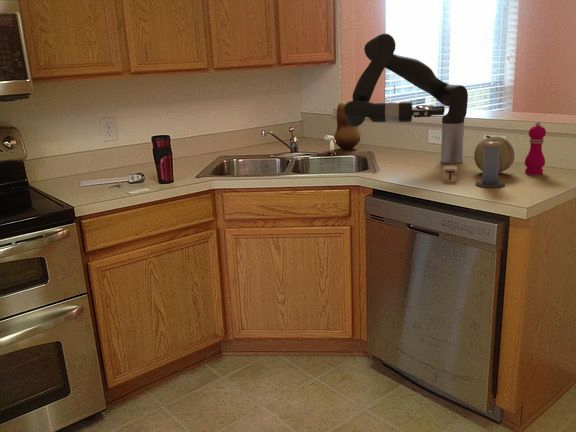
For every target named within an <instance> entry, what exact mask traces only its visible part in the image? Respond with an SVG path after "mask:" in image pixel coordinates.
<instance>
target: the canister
mask: <svg viewBox="0 0 576 432" xmlns="http://www.w3.org/2000/svg"><path fill="white" fill-rule="evenodd" d="M500 146H501V142H496V141H488V142H484V153H483V170H482V171H481V173H482V174H481V181H482V184H485V185H497V184H498V181H499V176H500V175H499V174H500V173H499V160H500Z"/></svg>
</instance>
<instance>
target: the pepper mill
mask: <svg viewBox="0 0 576 432" xmlns="http://www.w3.org/2000/svg"><path fill="white" fill-rule="evenodd" d="M546 135H547V130H546V128H545V127H544V126H542V125H541V121H536V122H535V125H533V126H532V127H530V129H529V130H528V136H529V137H530V138H529V143H530V149H529V151H528V153H527V155H526V156H525V159H524V165H525V166H526V168H525V170H524V171H525V172H524V174H525V175H528V176H541V175H543V174H544V169H543V167H544V166H545V165H546V159H545V156H544V153H543V151H542V147H543V144H544V139H545V137H546Z"/></svg>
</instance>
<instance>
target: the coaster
mask: <svg viewBox="0 0 576 432" xmlns="http://www.w3.org/2000/svg"><path fill="white" fill-rule="evenodd" d="M505 185H506V183H505V182H504V181H500V180H498V184H497V185H485V184H482V180H478V181H475V186H476V187H479V188H483V189H501V188H504V187H505Z"/></svg>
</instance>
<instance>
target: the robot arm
mask: <svg viewBox="0 0 576 432" xmlns="http://www.w3.org/2000/svg"><path fill="white" fill-rule="evenodd" d="M396 47H397V46H396V41H395V39H394V37H393V36H392V35H391V34H389V33H386V32H385V33H382V34H379V35H377V36H375V37H374V38H372V39H370V40H369V41H367V42H366V43H365V45H364V48H363V50H364V54H365V56H366V58H368V59H369V60H370V62H369V64H368V65H367V67H365V70H364V71H363V72H362V74H361V75H360V77H359V78H358V80H357V82H356V85H355V86H354V89H353V92H352V100H349V101H350V102H348V103H347V104H346V105H345V107H344V113H345V116H346V119H347V122H348V124H349V125H351V126H353V127H357V126H358V127H360V126H361V125H362V124H363V123H364V122H365V120H366V118H368V119H369V120H370V121H371V122H373V123H411V122H412V120H413V118H430V117H433V116H442V119H441V139H440V140H441V146H440V162H441V163H445V164H458V163H459V164H461V163H462V162H463V156H464V155H463V153H464V137H465V136H464V132H465V131H464V130H465V129H464V128H465V118H466V117H467V111H468V101H469V94H468V90H467V87H465V86H464V85H462V84H461V85H460V84H449V83H446V82H444V81H443V80H441V79H439V78H438V77H437V76H436V75H435V72H434V71H433V69H431V67H430V66H428V65H427V64H426V63H424V62H422V61H421V60H419V59H416V58H414V57H408V56H402V55H398V54H396V53H394V52H395V51H396ZM385 69H386V70H389V71H390V72H392V73H394V74H396V75H398V76H399V77H401V78H402V79H404V80H405V81H406V82H408V83H410V84H411V85H413V86H415V87H417V88H418V89H420V90H422V91H424V92H426V93H427V94H430V96H432V97H433V98H434V99H435V100H437V101H438V102H439V103H441V104H442V105H435V106H434V105H431V104H430V105H428V104H427V105H426V104H425V105H419V104H417V105H416V106H415V107H413V102H412V101H410V100H406V101H404V100H403V101H391V102H380V103H379V102H377V103H374V102H370V101H371V98H372V96H373V93H374V91H375V88H376V86H377V83H378V81H379V79H380V78H381V76H382V73H383V72H384V70H385ZM445 106H446V107H448V111H447V113H446V114H445V110H446V109H445Z"/></svg>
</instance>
